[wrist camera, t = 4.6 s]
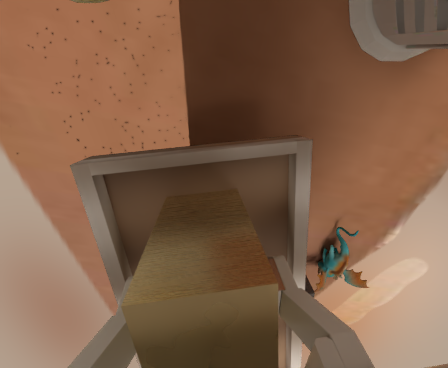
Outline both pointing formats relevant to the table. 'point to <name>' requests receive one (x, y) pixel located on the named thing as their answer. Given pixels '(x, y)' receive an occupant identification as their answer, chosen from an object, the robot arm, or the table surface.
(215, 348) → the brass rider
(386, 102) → the table surface
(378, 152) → the table surface
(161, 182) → the balance beam
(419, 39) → the french press
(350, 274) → the dragon figurine
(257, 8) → the table surface
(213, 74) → the table surface
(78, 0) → the bread roll
